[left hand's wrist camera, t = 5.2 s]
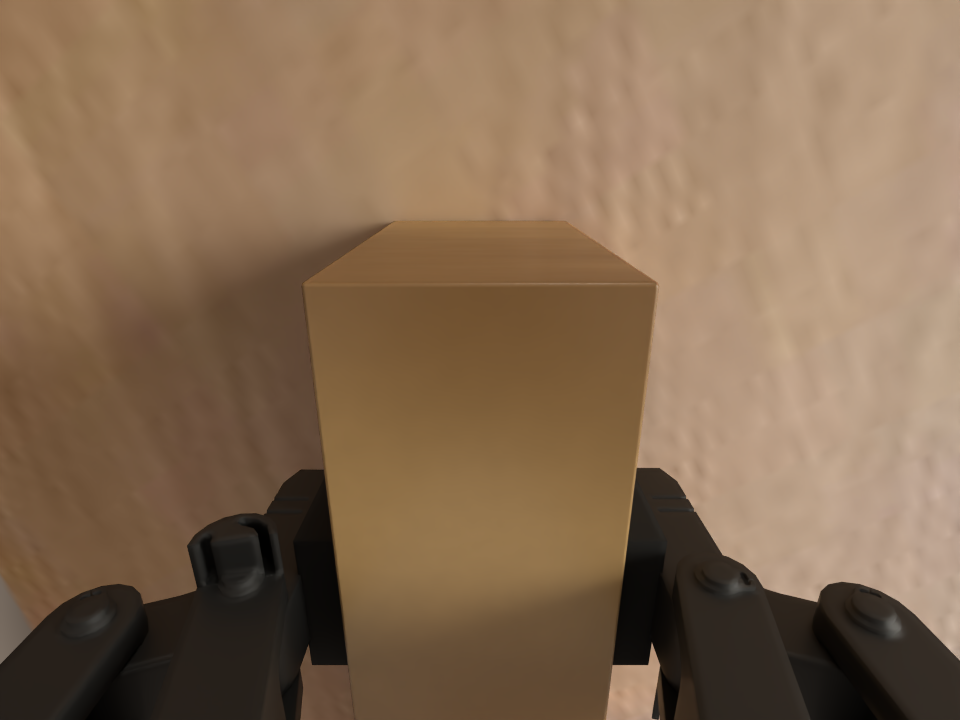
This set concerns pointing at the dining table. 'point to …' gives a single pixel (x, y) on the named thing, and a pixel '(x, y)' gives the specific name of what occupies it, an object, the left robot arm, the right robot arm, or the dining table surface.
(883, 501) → the dining table surface
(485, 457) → the post
